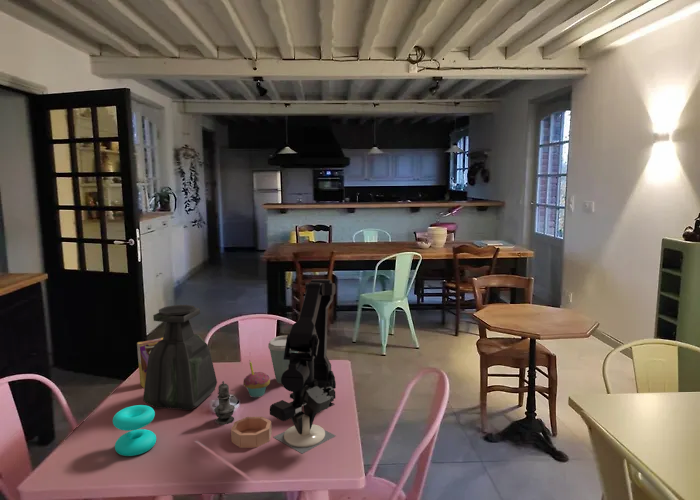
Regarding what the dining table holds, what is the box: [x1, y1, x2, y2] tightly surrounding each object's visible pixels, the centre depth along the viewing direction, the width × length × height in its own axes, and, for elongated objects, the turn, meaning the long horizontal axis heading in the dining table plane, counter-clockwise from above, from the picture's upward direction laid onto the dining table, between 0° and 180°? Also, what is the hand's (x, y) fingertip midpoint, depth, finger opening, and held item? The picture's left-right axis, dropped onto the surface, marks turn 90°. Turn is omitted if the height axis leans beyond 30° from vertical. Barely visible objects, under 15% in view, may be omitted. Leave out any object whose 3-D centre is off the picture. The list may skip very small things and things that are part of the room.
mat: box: [273, 429, 337, 454], centre depth 129 cm, size 12×12×1 cm
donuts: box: [112, 404, 157, 457], centre depth 125 cm, size 10×10×10 cm
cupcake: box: [243, 359, 271, 398], centre depth 157 cm, size 9×8×12 cm
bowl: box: [230, 416, 273, 449], centre depth 128 cm, size 10×10×4 cm
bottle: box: [142, 304, 218, 411], centre depth 151 cm, size 18×16×30 cm
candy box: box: [136, 337, 163, 389], centre depth 166 cm, size 9×4×15 cm, turn 127°
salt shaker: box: [213, 380, 236, 426], centre depth 139 cm, size 6×6×12 cm
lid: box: [284, 415, 325, 447], centre depth 129 cm, size 11×11×5 cm
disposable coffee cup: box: [268, 335, 298, 385], centre depth 167 cm, size 11×11×15 cm
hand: (304, 431), depth 129 cm, fingers closed on lid, 3 cm apart
